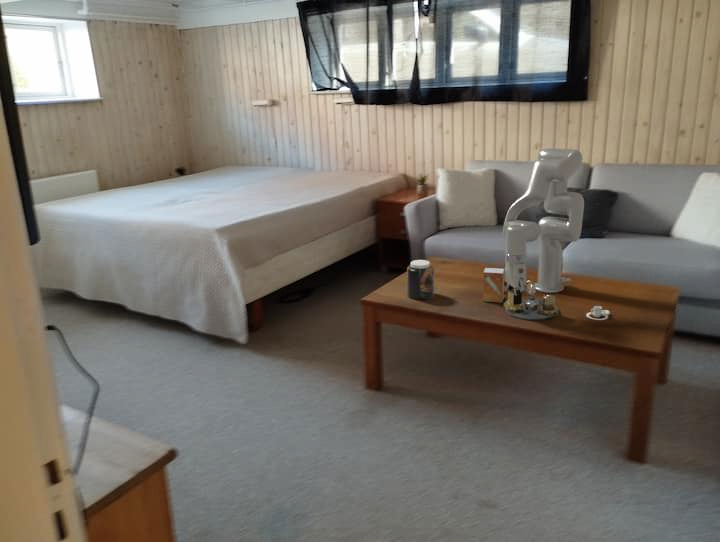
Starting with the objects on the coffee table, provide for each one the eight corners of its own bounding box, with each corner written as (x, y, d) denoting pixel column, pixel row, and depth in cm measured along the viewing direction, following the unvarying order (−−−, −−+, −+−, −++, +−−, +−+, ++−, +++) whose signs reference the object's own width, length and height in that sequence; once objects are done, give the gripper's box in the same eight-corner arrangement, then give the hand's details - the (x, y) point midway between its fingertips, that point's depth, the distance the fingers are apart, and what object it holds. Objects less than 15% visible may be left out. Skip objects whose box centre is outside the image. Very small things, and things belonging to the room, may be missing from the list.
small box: (482, 301, 250) (483, 272, 246) (484, 296, 255) (484, 267, 251) (502, 303, 247) (503, 273, 243) (503, 297, 253) (504, 268, 249)
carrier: (542, 299, 249) (542, 280, 247) (567, 316, 230) (569, 296, 228) (497, 304, 245) (497, 286, 243) (519, 323, 227) (520, 303, 224)
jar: (404, 299, 257) (403, 266, 252) (410, 290, 267) (409, 258, 263) (432, 300, 253) (431, 267, 249) (436, 291, 264) (436, 259, 259)
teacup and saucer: (608, 313, 232) (609, 303, 231) (612, 321, 225) (612, 311, 224) (584, 312, 234) (585, 303, 233) (587, 320, 227) (588, 310, 226)
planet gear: (518, 302, 240) (518, 287, 238) (527, 309, 233) (527, 293, 231) (500, 304, 239) (501, 289, 237) (509, 311, 232) (509, 295, 230)
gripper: (535, 262, 222) (533, 308, 228) (514, 250, 238) (513, 293, 244) (516, 264, 221) (514, 310, 227) (496, 252, 237) (496, 295, 242)
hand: (514, 301), depth 235 cm, fingers open, 4 cm apart
